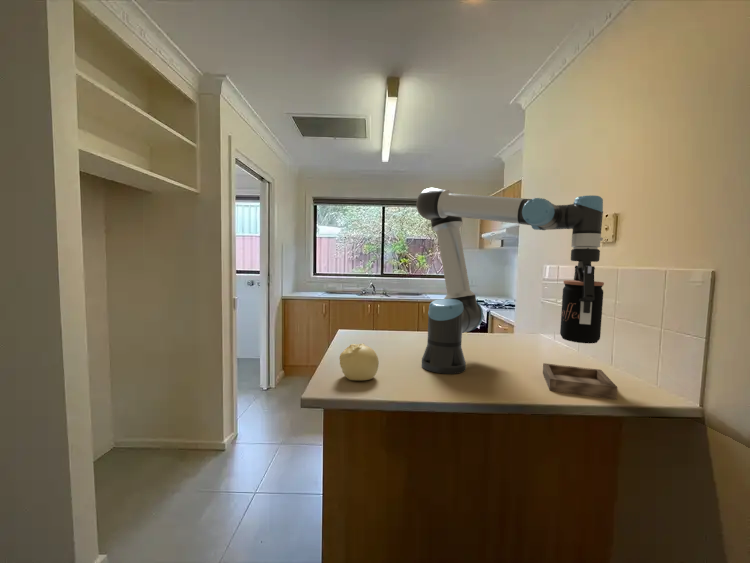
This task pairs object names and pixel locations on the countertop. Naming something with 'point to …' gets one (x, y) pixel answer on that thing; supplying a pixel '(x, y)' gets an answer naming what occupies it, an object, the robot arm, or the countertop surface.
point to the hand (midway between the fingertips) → (580, 320)
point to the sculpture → (359, 362)
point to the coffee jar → (571, 313)
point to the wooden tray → (579, 381)
